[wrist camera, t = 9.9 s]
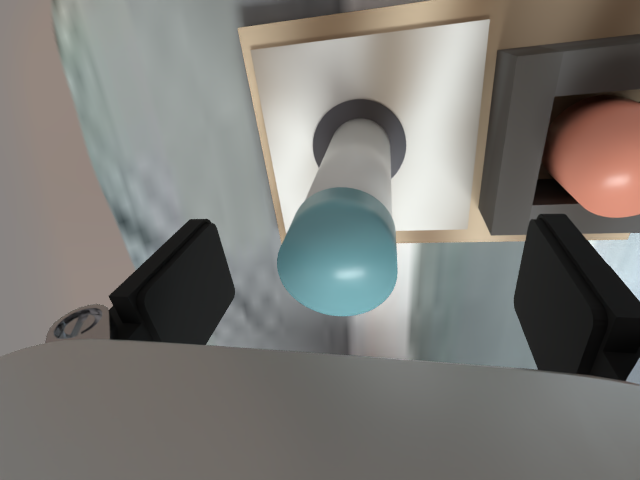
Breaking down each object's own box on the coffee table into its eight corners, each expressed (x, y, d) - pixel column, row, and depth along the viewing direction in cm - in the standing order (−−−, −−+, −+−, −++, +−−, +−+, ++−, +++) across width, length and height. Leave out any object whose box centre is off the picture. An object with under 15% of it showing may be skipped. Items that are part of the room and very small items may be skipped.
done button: (658, 90, 15) (724, 108, 12) (626, 180, 17) (676, 215, 14) (550, 99, 16) (587, 119, 13) (533, 184, 18) (561, 218, 15)
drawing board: (714, -40, 14) (813, -56, 11) (618, 230, 21) (662, 271, 17) (244, 27, 18) (212, 30, 15) (285, 237, 25) (269, 272, 21)
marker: (391, 113, 18) (396, 216, 9) (392, 176, 20) (397, 317, 11) (325, 119, 19) (266, 220, 10) (331, 180, 21) (287, 315, 11)
